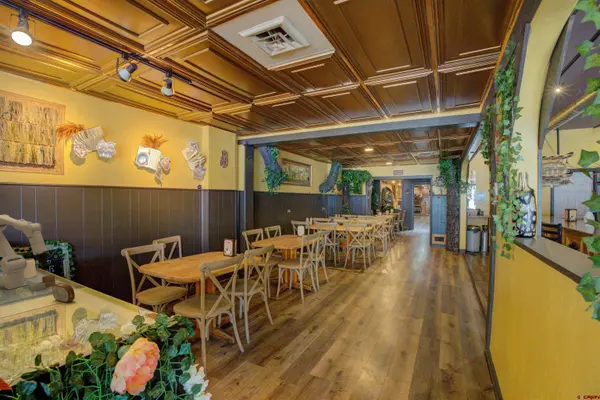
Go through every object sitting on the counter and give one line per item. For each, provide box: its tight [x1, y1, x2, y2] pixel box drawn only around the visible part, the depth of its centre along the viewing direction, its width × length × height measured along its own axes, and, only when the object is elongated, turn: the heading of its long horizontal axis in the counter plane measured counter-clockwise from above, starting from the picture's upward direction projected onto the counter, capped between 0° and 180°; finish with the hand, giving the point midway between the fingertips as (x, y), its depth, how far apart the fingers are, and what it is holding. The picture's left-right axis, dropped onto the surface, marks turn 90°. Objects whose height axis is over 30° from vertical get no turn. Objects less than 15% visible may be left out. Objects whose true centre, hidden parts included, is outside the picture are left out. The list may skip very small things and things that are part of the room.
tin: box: [51, 282, 76, 303], centre depth 136 cm, size 15×3×8 cm, turn 65°
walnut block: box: [41, 274, 56, 288], centre depth 162 cm, size 4×4×6 cm
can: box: [24, 257, 37, 280], centre depth 181 cm, size 6×6×12 cm
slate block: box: [29, 281, 46, 292], centre depth 157 cm, size 5×5×3 cm
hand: (45, 266), depth 160 cm, fingers open, 7 cm apart
